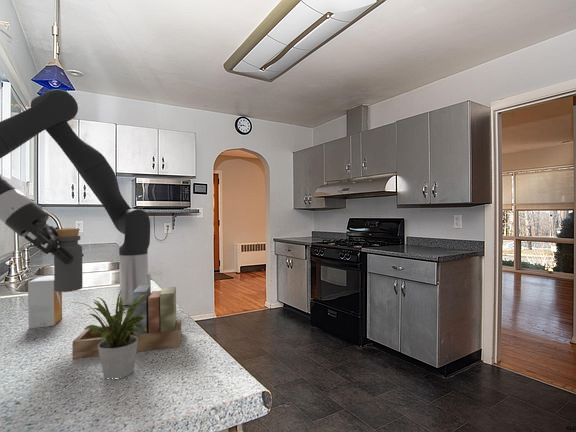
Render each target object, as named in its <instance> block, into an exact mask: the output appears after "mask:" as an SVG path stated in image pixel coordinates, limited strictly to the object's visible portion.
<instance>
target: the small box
mask: <svg viewBox="0 0 576 432" xmlns="http://www.w3.org/2000/svg"><path fill="white" fill-rule="evenodd" d="M27 300H28V301H27V303H28V304H27V305H28V307H27V308H28V309H27V310H28V311H27V312H28V329H36V328H46V327H47V328H48V327H53V326H55V325H56V324H57V323H58V322H59V321H60V320H61V319H63V292H56V291H55V287H54V275H53V276H38V277H36V278H34V279H32V280H30V281H28V282H27Z"/></svg>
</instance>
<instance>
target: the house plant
mask: <svg viewBox="0 0 576 432" xmlns="http://www.w3.org/2000/svg"><path fill="white" fill-rule="evenodd" d="M121 291H122V290H121ZM121 291H120V290H119V293H118V295H117V299H116V305H115V314H113V315H111V314H110V311H109V308H108V305H107V302H106V301H105V300H104V299H103V298H101V297H98V296H96V298H98V299H100V300H101V301H102V303H103V305H102V304H101V302H99V301H98V300H97V299H94V298H93V299H92V300H93V304H95V305H96V306H97V307H92V306H90V305H89V304H86V303H83V302H80V304H81V305H84V306H88V307H89V308H88V309H87V310H88V311H89V310H90V309H91V310H93V312H95V313H96V314H97V315H96V314H94V313H89V315H90V316H92V317H93V318H95V319H96V320H97V322H98V323H99V324H100V326H102V327H103V328H104V330H105V331H104V330H103V329H102V328H100V327H98V326H99V325H96V324H89V325H87V326H86V327H85V328H84V330H85V329H96V330H91V331H89V332H91V333H93V332H92V331H100V332H97V333H99V334H101V337H102V341H101V342H100V343H99V344H98V350H99V355H100V356H99V358H100V364H101V368H102V373H103V378H104V377H105V378H109V379H112V378H113V379H115V378H120V377H124V376H127V375H129V374H130V373H132V372H133V373H134V369H135V363H136V355H137V352H136V350H137V344H138V338H137V337H136V336H131V332H133V333H135V334H137V331H138V330H137V329H133V328H134V327H140V328H142V329H144V330H146V332H147V327H146V326H145V325H142V324H140V325H136V324H137V323H138V322H139V321H141V320H143V319H144V318H145V317H142V316H145V315H141V316H137V317H134V318H131V316H132V315H133V313H134V312H135V310H136V309H137V308H138V307H139V306H140V305H139V306H138V304H139V303H140V300H141V298H142V297H143V296H145V295H146V294H147V293H146V294H143V295H142V296H140V297H139V298H138V299H137V300H136V301H135V302H134V303H133V304H132V305H130V307H129V308H127V307H126V308H124V306H125V305H124V304H123V300H122V298H121V297H120V294H121ZM131 296H132V295H131ZM131 296H130V297H131ZM130 297H129V298H130ZM129 298H128V299H129ZM128 299H127V300H128ZM127 300H126V301H127ZM126 301H125V302H126ZM148 301H149V300H148ZM125 302H124V303H125ZM145 302H146V301H145ZM72 304H78V302H77V301H76V302H75V301H74V302H72ZM142 304H143V303H142ZM137 306H138V307H137ZM136 307H137V308H136ZM135 308H136V309H135ZM125 310H127V312H125ZM98 312H99V313H100V314H102V316H103V317H104V318H105V320H104V319H103V318H102V317H101V316H100V314H99V313H98ZM124 314H125V317H124V319H123V315H124ZM85 315H88V313H86V314H85ZM130 318H131V319H130ZM145 319H146V318H145ZM105 321H106V322H107V323H106V322H105ZM121 324H122V325H121ZM107 325H109V326H110V329H109V327H108V326H107ZM135 325H136V326H135ZM105 326H107V327H108V329H109V330H110V332H108V330H107V328H106V327H105ZM120 327H121V328H120ZM110 334H111V335H110ZM111 336H112V337H111ZM137 336H138V335H137ZM103 339H105V340H103ZM133 373H132V374H133ZM129 376H130V375H129ZM127 377H128V376H127ZM105 378H104V379H105Z"/></svg>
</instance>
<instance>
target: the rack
mask: <svg viewBox="0 0 576 432" xmlns="http://www.w3.org/2000/svg"><path fill="white" fill-rule="evenodd" d="M151 289H152V287H151V288H150V285H145V286H138V287H137V288H136V289H135V290H134V292H133V303H134V302H135V301H136V300H137V299H138V298H139V297H140V296H142V295H143V294H146V293H147V294H146V295H145V296H143V297H142V298H141V300H140V303H139V304H138V306H139V305H140V306H139V307H138V306H137V307H138V308H137V307H136V308H137V309H136V308H135V309H136V310H135V312H134V313H133V315H132V316H131V318H134V317H137V316H141V315H145V316H142V317H145V318H146V319H145V318H144V319H143V320H141V321H139V322H138V323H137V324H136V325H140V324H142V325H145V326H146V327H147V332H146V330H144V329H142V328H140V327H134V328H133V329H137V330H138V331H137V334H135V333H133V332H131V336H136V337H137V338H138V344H137V350H136V353H137V352H143V351H144V352H145V351H155V350H162V349H163V350H164V349H165V350H166V349H173V348H179V347H180V344H179V343H181V338H180V337H181V336H182V318H177V287H176V286H169V287H168V286H167V287H163V288H162V290H153V291H152V290H151ZM148 300H149V301H148ZM145 301H146V302H145ZM142 303H143V304H142ZM131 318H130V319H131ZM121 325H122V323H121ZM136 325H135V326H136ZM97 326H98V327H100V328H102V329H103V330H104V328H103V327H102V325H97ZM107 326H108V327H109V329H110V326H109V324H107V325H105V327H106V328H107V330H108V332H110V330H109V329H108V327H107ZM120 328H121V327H120ZM91 330H96V329H85V328H84V330H83V331H82V332H81V333H79V335H78V336H77V337H76V338H75V339H74V340H73V341H72V344H71V345H72V359H80V358H88V357H89V358H90V357H98V356H99V357H100V355H99V350H98V344H99V343H100V342H101V341H102V337H101V334H99V333H97V332H100V331H92V332H93V333H91V332H89V331H91ZM104 331H105V330H104ZM110 335H111V334H110ZM137 335H138V336H137ZM111 337H112V336H111ZM103 340H105V339H103Z"/></svg>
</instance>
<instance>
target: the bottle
mask: <svg viewBox="0 0 576 432" xmlns="http://www.w3.org/2000/svg"><path fill="white" fill-rule="evenodd" d="M57 233H58V236H57V237H56V238H57V239H58V241H59V245H60V246H61V248H63V249H65V250H66V251H67V252H68V253H69V254H71V255H72V256H73V257H74V260H73V261H72V262H71V263H70V264H67V265H66V264H64V263H63V262H62V261H61V260H60V259H58V258H57V257H56V256H55V254H54V255H53V264H54V265H53V271H54V272H53V276H54V287H55V291H56V292H62V293H69V292H74V291H80V290H81V289H83V257H82V253H83V246H82V245H81V244H79V241H80V240H81V235H79V233H80V228H74V227H73V228H69V227H68V228H65V227H64V228H60V229H57ZM61 248H60V249H61Z"/></svg>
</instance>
